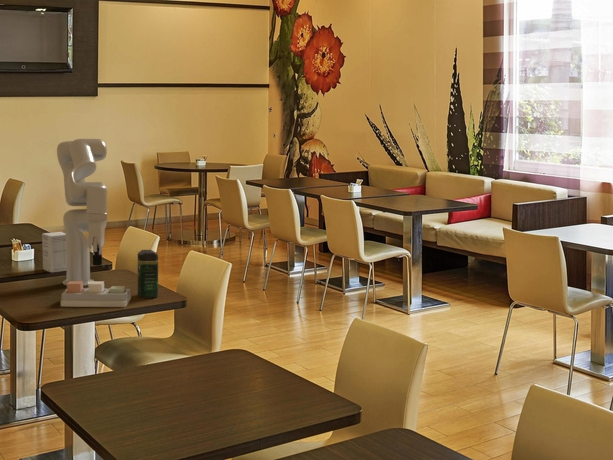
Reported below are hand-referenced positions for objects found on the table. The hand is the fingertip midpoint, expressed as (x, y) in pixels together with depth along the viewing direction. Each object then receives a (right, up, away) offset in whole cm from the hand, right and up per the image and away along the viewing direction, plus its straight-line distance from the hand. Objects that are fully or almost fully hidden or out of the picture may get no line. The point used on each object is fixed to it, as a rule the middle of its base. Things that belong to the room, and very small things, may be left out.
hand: (97, 264), depth 314 cm
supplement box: (-35, -5, +62) cm, 71 cm away
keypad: (-1, -15, +2) cm, 15 cm away
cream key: (-1, -10, +1) cm, 10 cm away
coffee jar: (+16, -13, +15) cm, 26 cm away
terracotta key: (-9, -10, +1) cm, 14 cm away
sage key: (+7, -12, +2) cm, 14 cm away
